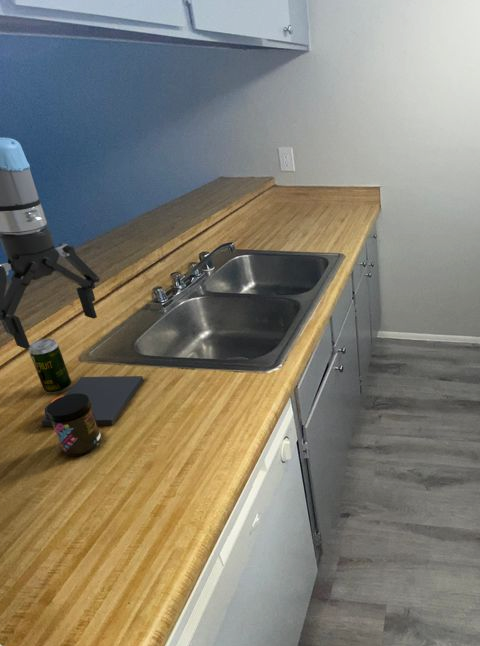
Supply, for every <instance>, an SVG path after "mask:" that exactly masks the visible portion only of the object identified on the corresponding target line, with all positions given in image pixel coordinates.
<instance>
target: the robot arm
mask: <svg viewBox="0 0 480 646" xmlns="http://www.w3.org/2000/svg"><path fill="white" fill-rule="evenodd" d="M47 225H48V221H47V218H46V215H45V211H44V209H43V206H42V203H41V200H40V197H39V194H38V191H37V188H36V185H35V181H34V179H33V176H32V172H31V166H30V163H29V162H28V160H27V158H26V155H25V152H24V150H23V148H22V145H21V143H20V142H19V141H18V140H16V139H14V138H12V137H11V138H10V137H1V136H0V244H1V246H2V249H3V252H4V254H5V255H6V258H7V261H6V262H5V263H0V322H1V324H2V327H3V330H4V331H5V333H7V335H11V336H12V337H13V340H14V342H15V344H16V346H17V347H20V348H22V349H26V350H27V349H29V348H30V343H29V340H28V337H27V335H26V332H25V330H24V327H23V325H22V322H21V320H20V317H19V316H16V315H15V313H16V311H17V309H18V306H19V304H20V302H21V301H22V298H23V296H24V293H25V291H26V289H27V287H28V286H29V285H31V282H32V280H33V281H36V280H40V279H41V278H43V277H48V276H52V273H56V274H58V275H60V277H64V278H65V279H66V280H69V281H70V282H72V283H74V284H75V285H78V286H79V287H76V288H75V289H76V292H77V295H78V298H79V301H80V304H81V307H82V310H83V314H84V316H85V317H87V318H90V319H94V320H95V319H97V318H98V316H97V312H96V309H95V306H94V302H95V301H96V297H95V294H94V289H95V287H96V283H99V282H100V280H101V279H100V277H99V276H98V275H97V274H96V273H95V272H94V271H93V270H92V269H91V268H90V267H89V265H87V264H86V263H85V262H84V260H83V259H81V257H79V255H78V254H77V253H76V251H75V249H74V246H73V245H71V244H67V243H63V242H61V243H59V244H58V246H57V247H55V242H54V239H53V236H52V233H51V229H50V228H49V227H47ZM60 256H61V257H64V259H66V260H67V262H69V264H70V265H71V266H72V267H73V268H75V270H77V272H79V273H80V275H82V276H83V277H82V276H80V275H78V274H77V273H74V272H73V271H71V270H69V269H68V268H66V267H65V266H63V265H61V264H60V263H58V260H59V258H60ZM10 271H13V273H12V276H11V278H10V284H9V286H8V288H7V282H8V278H7V277H8V276H9V275H10ZM6 288H7V291H6Z"/></svg>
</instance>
